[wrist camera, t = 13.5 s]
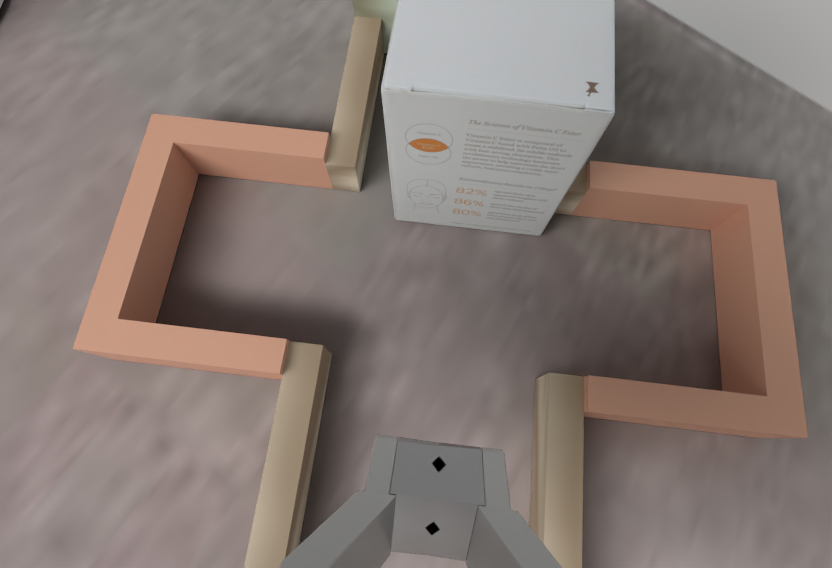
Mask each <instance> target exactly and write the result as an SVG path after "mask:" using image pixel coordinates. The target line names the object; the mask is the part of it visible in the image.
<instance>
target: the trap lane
mask: <svg viewBox="0 0 832 568" xmlns="http://www.w3.org/2000/svg"><path fill="white" fill-rule="evenodd" d="M396 5H397V0H353V6H354V13H355V18H354V23H353V28H352V33H351V38H350V43H349V48H348V53H347V58H346V63H345V68H344V73H343V78H342V83H341V88H340V93H339V98H338V103H337V108H336V113H335V118H334V123H333V128H332V133H331V138H330V143H329V148H328V152H327V157H326V162H325V165H326V168H327V172H328V175H329V178H330V181H331V184H332V187H333V189H339V190H348V191H357V192H360V189H361V183H362V178H363V172H364V166H365V160H366V154H367V149H368V143H369V137H370V131H371V125H372V120H373V114H374V108H375V102H376V96H377V91H378V85H379V79H380V73H381V67H382V62H383V56H384V53H388V47H389V42H390V37H391V32H392V26H393V21H394V16H395V10H396ZM586 185H587V161H586V163H585V164H584V166H583V167H582V169H581V170H580V172H579V174H578V175H577V177H576V179H575V180H574V182H573V183H572V185H571V186H570V188H569V190H568V191H567V193H566V194H565V196H564V198H563V199H562V201H561V203H560V204H559V206H558V208H557V209H556V211H555V213H557V214H566V215H571V213H572V212H573V211H574V209H575V208H576V206H577V205H578V204H579V202H580V201H581V199H582V198H583V197H584V195H585V194H586ZM331 358H332V354H331V353H330V352H329V351H328V350H327V349H326V348H325V347H324V346H323V345H317V344H309V343H300V342H292V341H289V346H288V351H287V356H286V361H285V366H284V371H283V376H282V381H281V386H280V391H279V396H278V401H277V406H276V411H275V416H274V421H273V426H272V431H271V436H270V441H269V446H268V451H267V456H266V461H265V466H264V471H263V476H262V481H261V486H260V491H259V496H258V501H257V506H256V511H255V516H254V521H253V525H252V530H251V535H250V540H249V545H248V550H247V555H246V560H245V565H244V568H279V567H280V564H281V562H282V561H283V560H284V559H285V558H286V557H287V556H288V555H289V554H290V553H291V552H292V551H294V550H295V549H296V548H297V547H298V546H299V543H300V537H301V532H302V526H303V520H304V514H305V508H306V503H307V497H308V491H309V485H310V479H311V474H312V468H313V462H314V456H315V450H316V445H317V439H318V433H319V427H320V421H321V416H322V410H323V404H324V398H325V392H326V387H327V381H328V375H329V369H330V363H331ZM583 445H584V376H576V375H568V374H559V373H551V372H549V373H547V374H545V375H543V376H541V377H539V378H537V379H536V383H535V407H534V430H533V454H532V478H531V502H530V527H531V529H532V530H533V531H534V532H535V534H536V535H537V536H538V537H539V539H540V540H541V541H542V543H543V544H544V545H545V546H546V548H547V549H548V550H549V551H550V553H551V554H552V555H553V557H554V558H555V559H556V560H557V562H558V563H559V564H560V565H561V567H562V568H582V532H583Z"/></svg>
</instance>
